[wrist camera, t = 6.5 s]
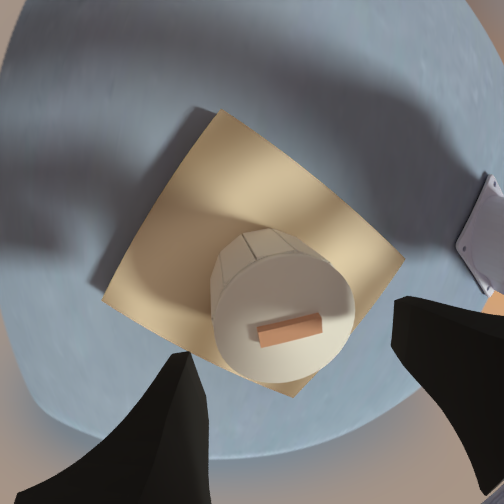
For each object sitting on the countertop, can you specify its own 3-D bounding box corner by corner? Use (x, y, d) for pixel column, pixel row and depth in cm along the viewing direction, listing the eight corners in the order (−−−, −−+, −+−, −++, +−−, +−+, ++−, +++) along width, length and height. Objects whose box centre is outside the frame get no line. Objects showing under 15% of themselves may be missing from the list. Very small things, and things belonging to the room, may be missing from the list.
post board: (391, 252, 18) (440, 276, 13) (287, 383, 20) (307, 433, 15) (219, 115, 14) (225, 88, 9) (110, 289, 16) (78, 331, 11)
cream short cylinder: (308, 220, 15) (357, 245, 10) (317, 314, 16) (357, 367, 11) (201, 241, 14) (197, 278, 9) (223, 335, 16) (231, 400, 11)
